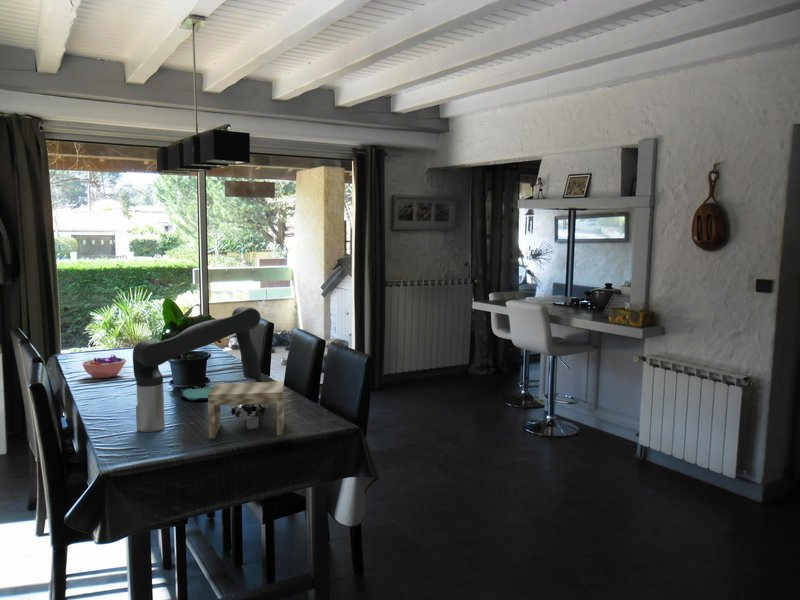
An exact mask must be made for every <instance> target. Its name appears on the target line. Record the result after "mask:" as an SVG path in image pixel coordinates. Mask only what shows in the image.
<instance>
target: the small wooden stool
mask: <svg viewBox="0 0 800 600" xmlns="http://www.w3.org/2000/svg"><path fill="white" fill-rule="evenodd" d="M284 384H285V383H284V381H264V382H257V381H255V382H233V383H232V382H229V383H226V382H225V383H214V384H213V385H212V389H211V390H210V392H209V394H208V399H207V408H208V438H209V439H215V438H216V436H217V435H218V431H219V430H220V428H221V425H222V417H221V415H222V413H221V406H231V405H236V406H238V405H241V404H261V405H263V404H267V405H268V404H276V433H277V434H276V435H277V436H283V434H284V427H285V426H284V425H285V393H284V392H285V390H284V389H285V388H284V387H285V386H284Z"/></svg>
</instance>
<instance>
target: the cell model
mask: <svg viewBox="0 0 800 600" xmlns="http://www.w3.org/2000/svg"><path fill="white" fill-rule="evenodd" d="M93 358H94V359H90V360H86V361H84V362H82V363H81V364H82V367H83V368H84V371H85V372H86V373H87V375H88V376H89V375H90V376H91V377H93V378H94V379H107V378H112V377H115V376H117V375H119V374H120V372H121V371H122V370H123V368H124V365H125V364H126V362H127V360H126V359H125V358H120V357H117V356H116V355H115V354H110V357H103V358H101V357H93Z"/></svg>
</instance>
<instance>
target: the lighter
mask: <svg viewBox="0 0 800 600" xmlns="http://www.w3.org/2000/svg"><path fill="white" fill-rule="evenodd" d="M239 411H240V413H241V414H240V415H241V417H242V418H243V420H244V421H246V429H248V430H252V429H257V428H260V427H259V423H260V421H259V418H260V417H259V416H260V415H259V416H257V417H255V414H249V416H248V414H246V413H245V411H244V409H240V410H239Z"/></svg>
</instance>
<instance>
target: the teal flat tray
mask: <svg viewBox="0 0 800 600" xmlns="http://www.w3.org/2000/svg"><path fill="white" fill-rule="evenodd" d="M206 384H207V385H206V386H205V387H203V388H201V387H195V389H192V388H186V389H180V392H181V397H182V398H185V399H187V400H189V401H196V400H201V401H202V400H204V401H205V400H208V394H209V392H210V390H211V389H212V387H213V385H212V386H211V384H209V383H206Z"/></svg>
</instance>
